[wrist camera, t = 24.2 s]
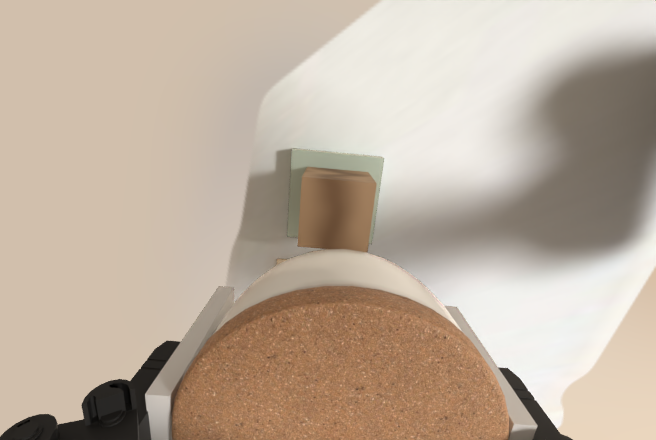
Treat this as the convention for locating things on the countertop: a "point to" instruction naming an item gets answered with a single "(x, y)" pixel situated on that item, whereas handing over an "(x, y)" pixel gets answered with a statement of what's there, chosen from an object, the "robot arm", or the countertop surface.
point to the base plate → (331, 161)
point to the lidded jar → (339, 361)
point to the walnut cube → (336, 209)
